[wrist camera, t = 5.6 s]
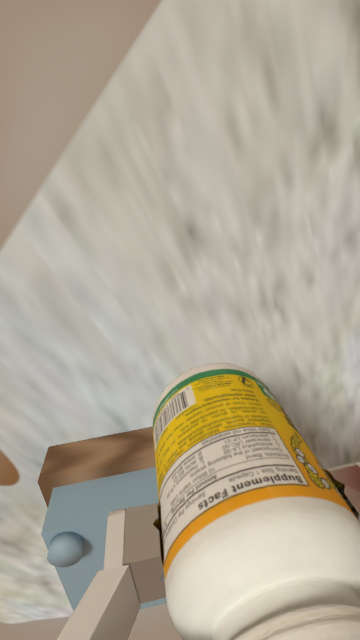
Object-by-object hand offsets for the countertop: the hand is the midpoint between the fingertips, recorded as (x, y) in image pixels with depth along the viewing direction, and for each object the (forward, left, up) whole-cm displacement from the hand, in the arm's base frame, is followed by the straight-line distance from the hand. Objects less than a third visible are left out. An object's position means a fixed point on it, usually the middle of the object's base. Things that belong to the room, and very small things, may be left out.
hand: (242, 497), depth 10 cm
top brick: (+6, +19, -14) cm, 25 cm away
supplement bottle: (0, 0, -5) cm, 5 cm away
